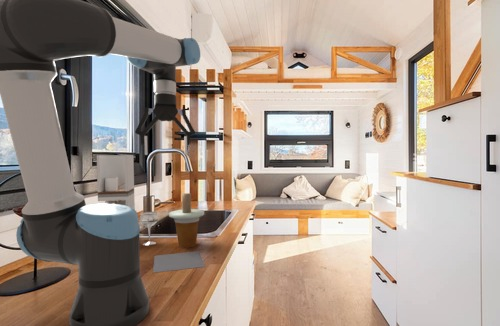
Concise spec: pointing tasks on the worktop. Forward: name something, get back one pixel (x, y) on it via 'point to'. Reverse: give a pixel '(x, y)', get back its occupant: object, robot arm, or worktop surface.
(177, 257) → the mat
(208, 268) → the worktop surface
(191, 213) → the lid
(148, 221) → the wineglass
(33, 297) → the worktop surface
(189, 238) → the disposable coffee cup
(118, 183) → the grey box-shaped tower
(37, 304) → the worktop surface
